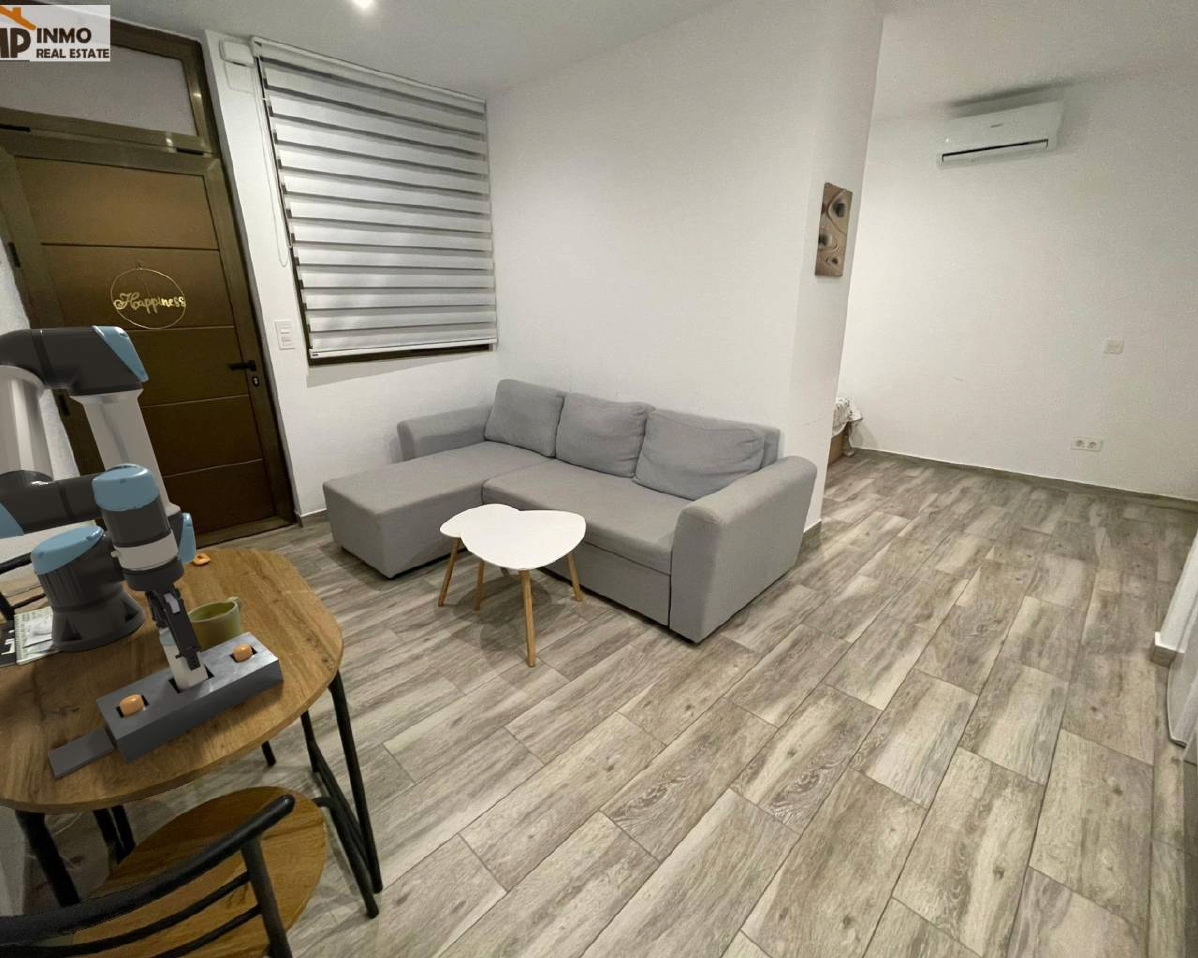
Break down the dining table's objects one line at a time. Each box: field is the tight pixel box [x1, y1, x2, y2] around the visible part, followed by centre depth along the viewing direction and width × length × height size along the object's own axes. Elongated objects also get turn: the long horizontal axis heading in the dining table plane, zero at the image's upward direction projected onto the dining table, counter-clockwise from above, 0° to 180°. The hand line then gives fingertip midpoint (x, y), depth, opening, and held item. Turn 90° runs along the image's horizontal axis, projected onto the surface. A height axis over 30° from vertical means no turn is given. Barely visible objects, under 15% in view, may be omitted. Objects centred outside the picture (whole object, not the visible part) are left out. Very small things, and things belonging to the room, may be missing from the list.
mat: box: [47, 726, 116, 780], centre depth 86 cm, size 7×7×1 cm
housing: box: [95, 631, 284, 764], centre depth 97 cm, size 14×24×5 cm, turn 142°
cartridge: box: [158, 629, 208, 693], centre depth 95 cm, size 5×5×15 cm
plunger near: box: [119, 695, 145, 717], centre depth 90 cm, size 3×3×6 cm
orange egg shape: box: [233, 644, 253, 663], centre depth 103 cm, size 3×3×6 cm
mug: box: [187, 596, 244, 653], centre depth 113 cm, size 12×10×10 cm
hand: (188, 668), depth 95 cm, fingers open, 10 cm apart
